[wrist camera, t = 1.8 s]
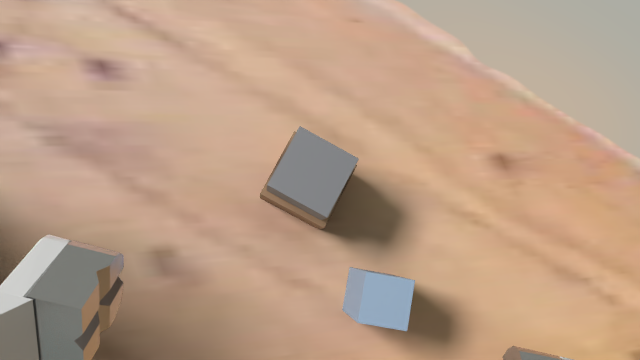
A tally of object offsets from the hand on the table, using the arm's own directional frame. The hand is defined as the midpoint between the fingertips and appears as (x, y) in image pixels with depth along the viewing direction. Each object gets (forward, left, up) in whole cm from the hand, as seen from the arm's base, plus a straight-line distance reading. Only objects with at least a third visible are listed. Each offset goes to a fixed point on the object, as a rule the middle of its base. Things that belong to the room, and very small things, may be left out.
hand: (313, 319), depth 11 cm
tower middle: (+9, 0, -41) cm, 41 cm away
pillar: (+2, -11, -45) cm, 47 cm away
